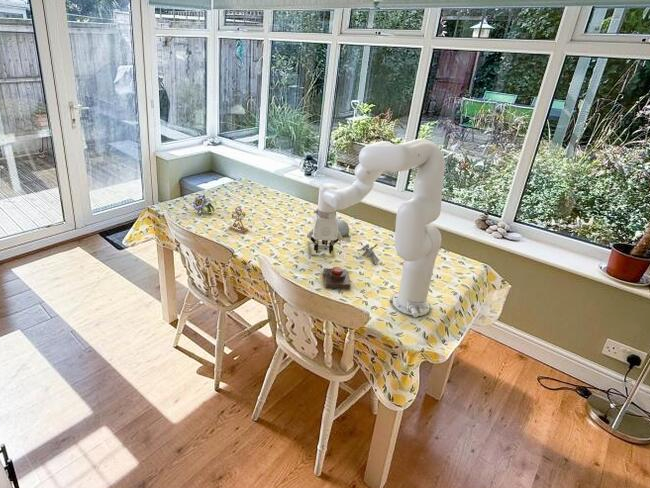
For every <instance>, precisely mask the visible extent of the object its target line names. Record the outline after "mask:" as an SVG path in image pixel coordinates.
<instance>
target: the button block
mask: <svg viewBox="0 0 650 488" xmlns="http://www.w3.org/2000/svg"><path fill="white" fill-rule="evenodd" d="M333 268H334V267H331V268H328V267H326V268H325V267H324V268H323V278H324V284H325V285H324V286H325V289H336V290H337V289H338V290H350V289H351V282H350V278H349V275H348V270H347V269H345V268H341V269H342V274H341V275H335V274H333V273H332V271H333Z"/></svg>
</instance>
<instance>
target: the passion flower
mask: <svg viewBox="0 0 650 488" xmlns="http://www.w3.org/2000/svg"><path fill="white" fill-rule="evenodd" d="M206 197H207V194H206V193H203V194H201V195H198V196H196V197H195V198H194V200H193V201H192V203H191V204H190V206H191V207H192V206H193V208H194V211H195V210H197V211H195V214H202V212H203V209H204V210H206V209H207V213H208V214H209V215H212V213H213V212H215V207H214V206H213V205H212V203H214V204H215V206H217V205H218V204H217V201H216V200H213V201H212V202H209V201H210V200H211V199H210V198H208V197H207V198H206ZM209 212H211V213H209Z"/></svg>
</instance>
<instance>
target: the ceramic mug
mask: <svg viewBox="0 0 650 488" xmlns="http://www.w3.org/2000/svg"><path fill="white" fill-rule="evenodd" d="M338 232H339V233H340V234H341V236H342V237H345V236H346V237H348V239H347V241H349V240H350V239H351V235H350V227H349V224H348V222H347V221H346V220H343V219H340V220H338ZM335 236H336V235H335ZM337 237H338V236H337ZM341 241H344V238H342V239H341Z"/></svg>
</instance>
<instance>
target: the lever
mask: <svg viewBox="0 0 650 488" xmlns="http://www.w3.org/2000/svg"><path fill="white" fill-rule="evenodd" d="M325 248H327V249H329V248H330V245H329V244H327V245H325V240H321V244H319V243H318V249H325Z"/></svg>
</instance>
